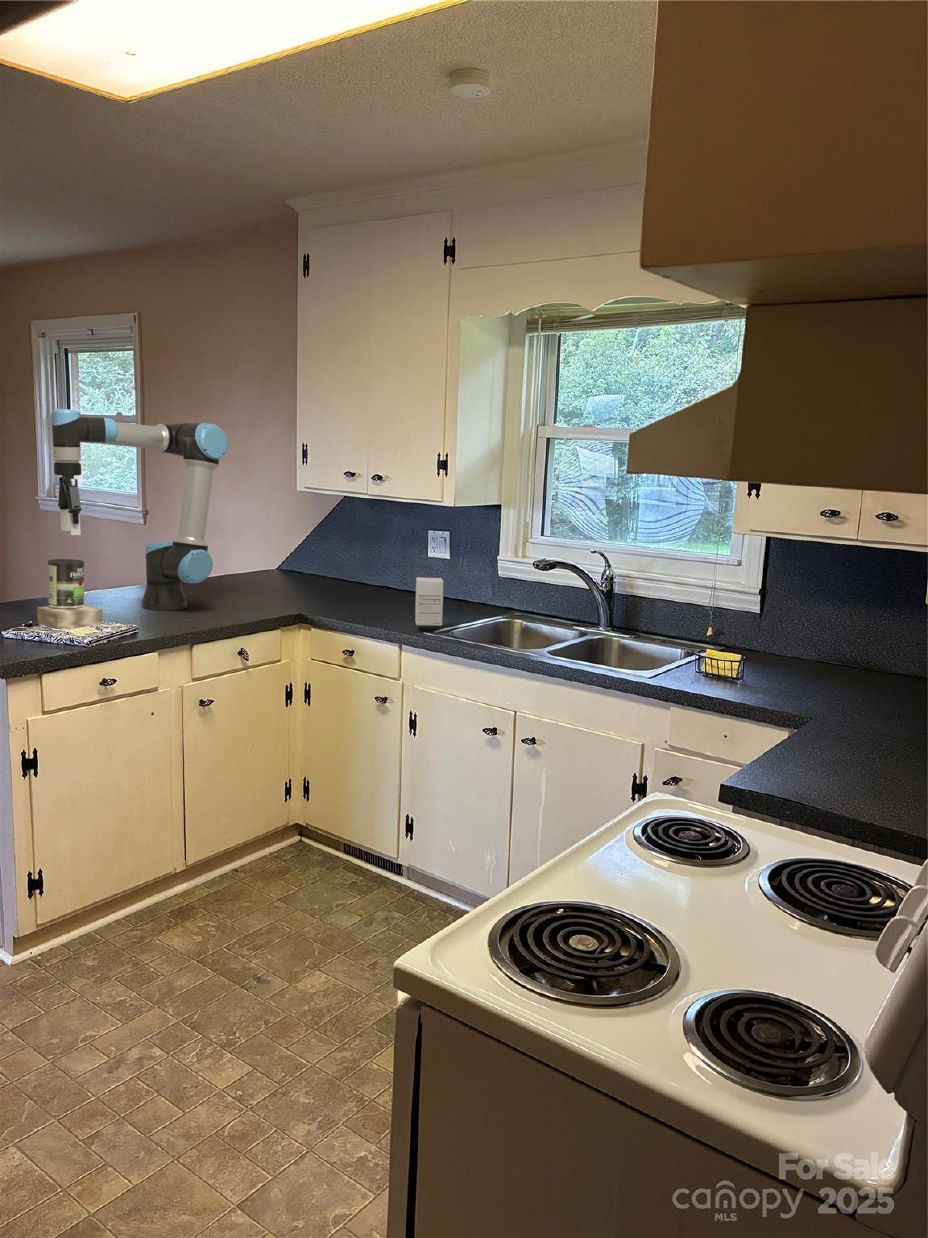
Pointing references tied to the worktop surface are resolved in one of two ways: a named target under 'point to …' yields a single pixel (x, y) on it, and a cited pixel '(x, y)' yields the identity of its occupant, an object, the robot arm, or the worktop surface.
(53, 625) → the birch block
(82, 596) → the coffee can
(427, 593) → the supplement box
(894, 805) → the worktop surface
